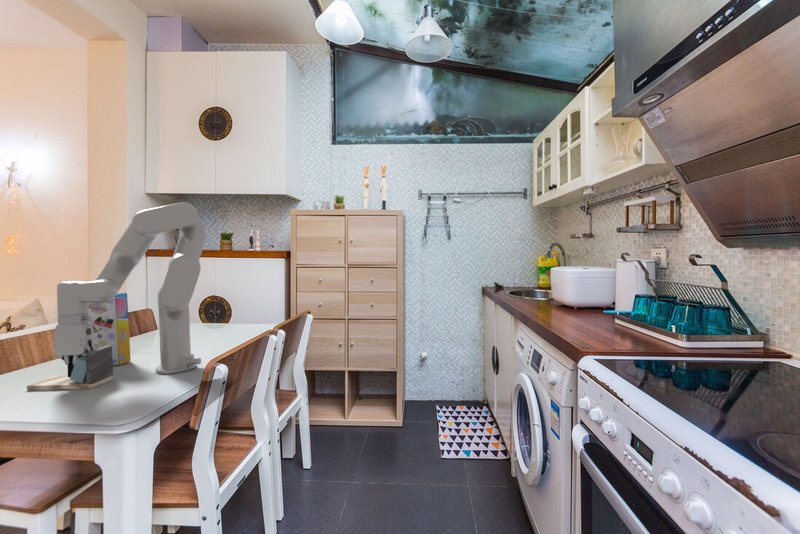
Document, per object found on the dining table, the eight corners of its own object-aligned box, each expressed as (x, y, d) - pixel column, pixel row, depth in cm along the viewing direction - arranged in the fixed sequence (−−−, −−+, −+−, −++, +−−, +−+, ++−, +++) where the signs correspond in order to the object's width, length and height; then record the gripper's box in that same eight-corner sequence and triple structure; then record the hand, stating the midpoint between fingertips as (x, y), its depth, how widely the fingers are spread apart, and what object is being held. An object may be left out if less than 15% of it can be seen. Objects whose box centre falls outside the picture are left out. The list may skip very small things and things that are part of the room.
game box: (131, 361, 147) (128, 292, 146) (119, 366, 142) (116, 294, 141) (83, 361, 150) (79, 292, 148) (69, 365, 144) (66, 294, 143)
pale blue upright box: (99, 376, 126) (105, 356, 125) (82, 383, 119) (88, 362, 118) (87, 372, 125) (94, 352, 125) (69, 379, 118) (76, 358, 118)
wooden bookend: (113, 379, 127) (111, 345, 126) (92, 389, 118) (90, 352, 117) (52, 380, 126) (51, 346, 126) (26, 390, 117) (24, 354, 117)
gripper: (105, 317, 125) (106, 372, 125) (60, 317, 125) (61, 372, 125) (87, 321, 117) (88, 379, 118) (38, 321, 117) (40, 379, 118)
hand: (74, 375), depth 122 cm, fingers closed
